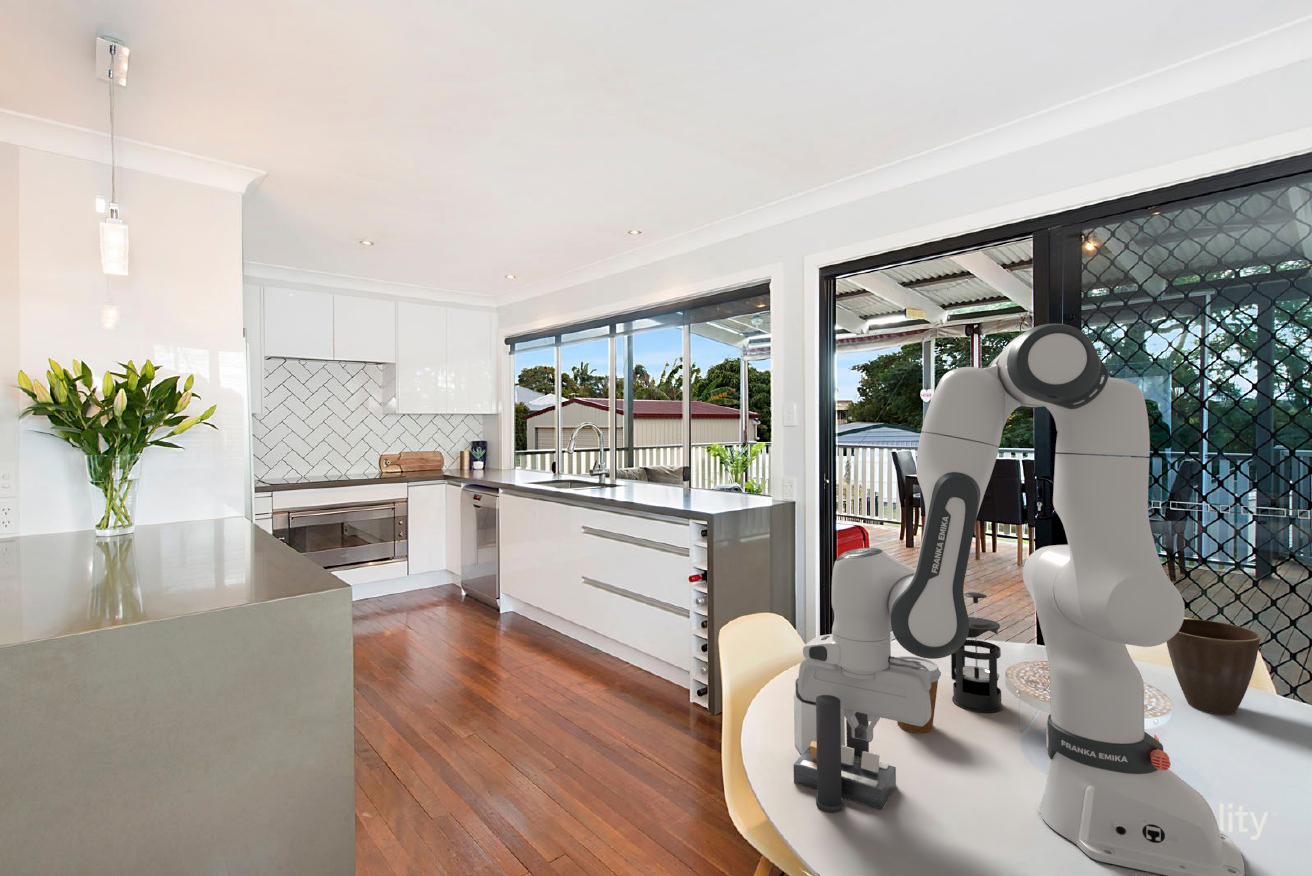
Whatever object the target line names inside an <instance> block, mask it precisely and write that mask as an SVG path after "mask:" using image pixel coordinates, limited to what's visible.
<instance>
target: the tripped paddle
mask: <svg viewBox="0 0 1312 876" xmlns="http://www.w3.org/2000/svg"><path fill="white" fill-rule="evenodd" d="M810 751H811V756H812V758H815V759H817V742H816V741H812V742H811V744H810Z"/></svg>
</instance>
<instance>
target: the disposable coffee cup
mask: <svg viewBox="0 0 1312 876" xmlns="http://www.w3.org/2000/svg"><path fill="white" fill-rule="evenodd" d="M896 657H897V658H902V659H906V660H910V661H911V660H914V661H918V662H920V663H921V665H924V666H925V667H926V668H927V669H928V670H929V671H930V673H931V682H932V686H931V689H930V690H929V694H930V701H931V717H930V720H929V721H928V722H927V723H926V724H925V725H924V726H922V727H921V726H916V725H911V724H907V723H903V722H898V721H896V723H897V726H898V727H900V728H901V729H902V730H905V731H908V732H911V733H919V734H920V733H921V734H924V733H928V732H931V731H933V726H934V717H935V710H936V709H935V708H936V701H937V700H936V699H937V695H938V694H937V692H938V684H939V679H940V677H941V674H942V673H941V671H940V669H939V665H938V664H937V662H934V661H932V659H928V658H922V657H919V656H913V655H912V656H909V655H908V656H907V655H905V656H904V655H903V656H896ZM920 669H923V668H922V667H921V668H920Z"/></svg>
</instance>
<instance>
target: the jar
mask: <svg viewBox="0 0 1312 876" xmlns="http://www.w3.org/2000/svg"><path fill="white" fill-rule="evenodd" d="M840 711H841V745H843V746H846V739H845V738H846V735H845V733H846V723H845V722H846V717H845V716H844V709H842V708H840ZM793 713H794V714H793V715H794V716H793V717H794V718H793V719H794V721H793V724H794V725H793V726H794V727H793V728H794V734H793V735H794V745H795V747H796V748H797V750H798V751H799V753H800V756H801V755H802V754H803V753H804V752H805V751H806V750H807V749H808V748H809V747H810V744H811V742H812V741H816V702H812V701H807V700H804V699H802V697H801V696H800V694H799V692H798V677H797V678H796V679H795V692H793Z"/></svg>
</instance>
